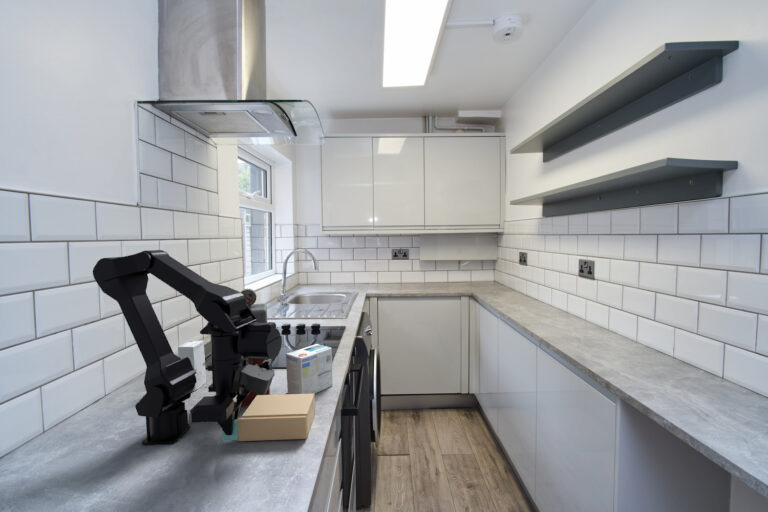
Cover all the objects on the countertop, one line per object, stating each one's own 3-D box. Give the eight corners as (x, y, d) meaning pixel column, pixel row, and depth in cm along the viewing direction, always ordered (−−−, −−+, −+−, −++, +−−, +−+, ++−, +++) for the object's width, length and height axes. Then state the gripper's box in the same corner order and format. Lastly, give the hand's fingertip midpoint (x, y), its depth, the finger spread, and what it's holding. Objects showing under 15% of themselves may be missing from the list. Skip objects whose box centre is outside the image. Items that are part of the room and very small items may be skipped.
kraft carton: (242, 439, 69) (241, 415, 69) (257, 416, 78) (257, 395, 78) (307, 437, 69) (306, 413, 69) (315, 414, 78) (314, 393, 78)
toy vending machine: (229, 413, 80) (224, 294, 78) (234, 393, 90) (229, 287, 89) (269, 406, 82) (265, 291, 81) (269, 387, 93) (266, 285, 92)
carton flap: (222, 442, 67) (221, 420, 67) (225, 438, 69) (224, 417, 68) (306, 439, 68) (305, 418, 68) (307, 436, 69) (306, 414, 69)
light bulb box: (317, 379, 98) (316, 342, 97) (333, 385, 94) (332, 347, 93) (286, 393, 90) (284, 352, 89) (301, 400, 85) (300, 358, 85)
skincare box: (196, 391, 92) (194, 346, 91) (178, 391, 91) (176, 347, 91) (207, 381, 98) (205, 340, 97) (191, 382, 98) (189, 340, 97)
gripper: (253, 373, 58) (256, 461, 59) (281, 340, 77) (283, 408, 78) (186, 375, 58) (190, 464, 59) (230, 341, 76) (233, 409, 77)
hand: (230, 432), depth 68 cm, fingers closed, pressing on carton flap
